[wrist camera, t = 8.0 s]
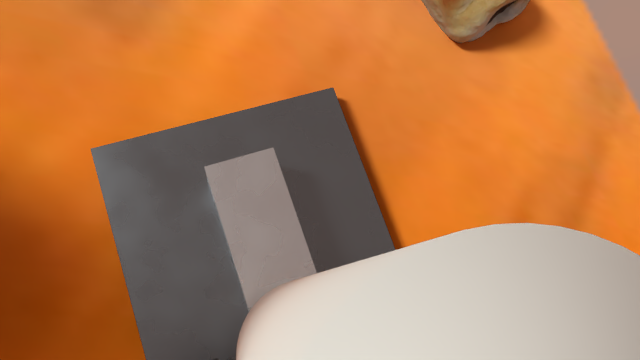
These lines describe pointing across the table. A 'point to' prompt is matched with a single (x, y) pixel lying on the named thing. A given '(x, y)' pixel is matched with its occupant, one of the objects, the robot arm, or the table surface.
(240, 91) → the table surface
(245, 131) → the ridge plate
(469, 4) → the pastry
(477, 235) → the off-white dowel
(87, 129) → the table surface
